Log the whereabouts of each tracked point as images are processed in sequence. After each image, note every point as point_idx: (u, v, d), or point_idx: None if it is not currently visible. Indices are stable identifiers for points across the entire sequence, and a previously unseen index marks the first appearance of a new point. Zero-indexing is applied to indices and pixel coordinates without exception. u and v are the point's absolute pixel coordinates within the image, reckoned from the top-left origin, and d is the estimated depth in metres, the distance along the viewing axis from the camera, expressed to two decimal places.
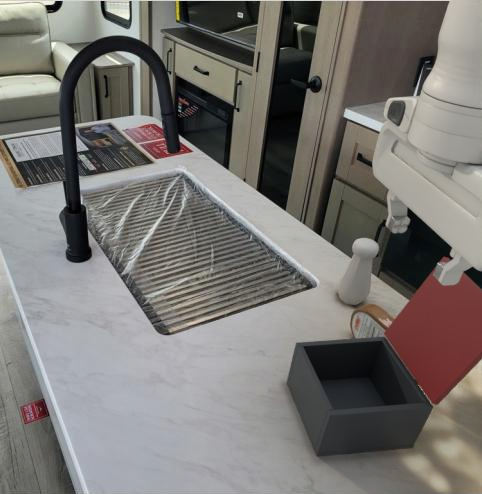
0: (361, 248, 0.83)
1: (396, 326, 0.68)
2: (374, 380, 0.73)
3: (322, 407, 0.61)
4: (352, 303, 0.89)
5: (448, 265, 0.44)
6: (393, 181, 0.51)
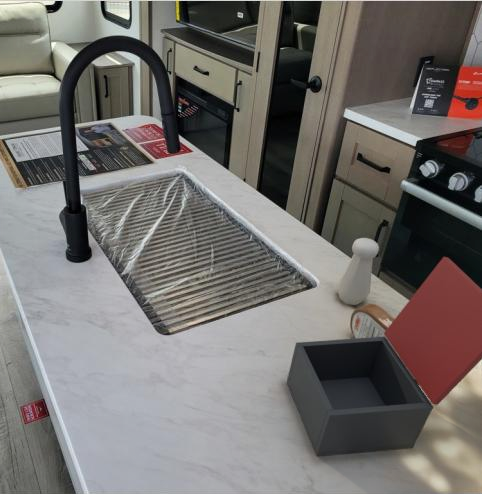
0: (361, 248, 0.83)
1: (396, 326, 0.68)
2: (374, 380, 0.73)
3: (322, 407, 0.61)
4: (352, 303, 0.89)
5: None
6: None
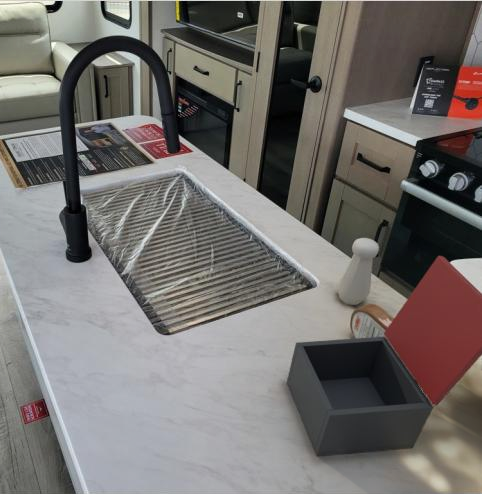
0: (361, 248, 0.83)
1: (395, 326, 0.68)
2: (374, 380, 0.73)
3: (322, 407, 0.61)
4: (352, 303, 0.89)
5: None
6: (476, 280, 0.64)
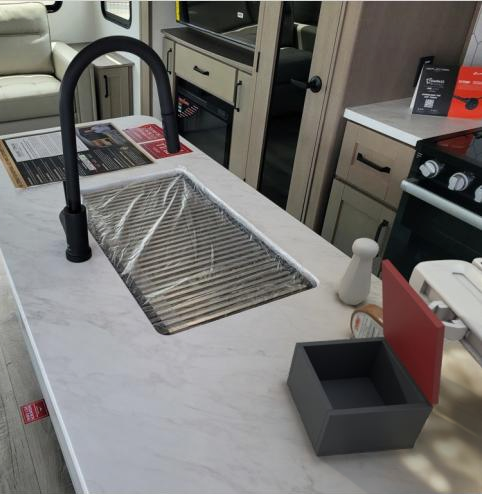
0: (361, 248, 0.83)
1: (386, 328, 0.68)
2: (374, 380, 0.73)
3: (322, 407, 0.61)
4: (352, 303, 0.89)
5: (444, 323, 0.58)
6: (443, 283, 0.63)
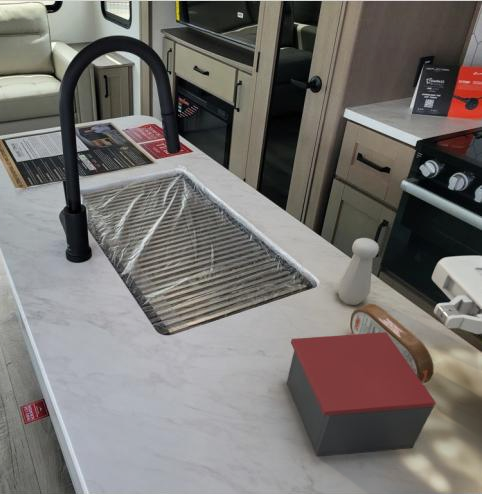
0: (361, 248, 0.83)
1: None
2: None
3: None
4: (352, 303, 0.89)
5: (469, 316, 0.59)
6: (466, 278, 0.64)
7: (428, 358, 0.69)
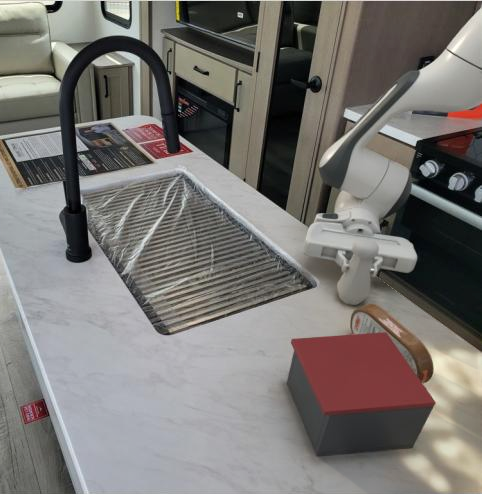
0: (361, 248, 0.83)
1: None
2: None
3: None
4: (352, 303, 0.89)
5: (376, 262, 0.87)
6: (332, 241, 0.92)
7: (428, 358, 0.69)
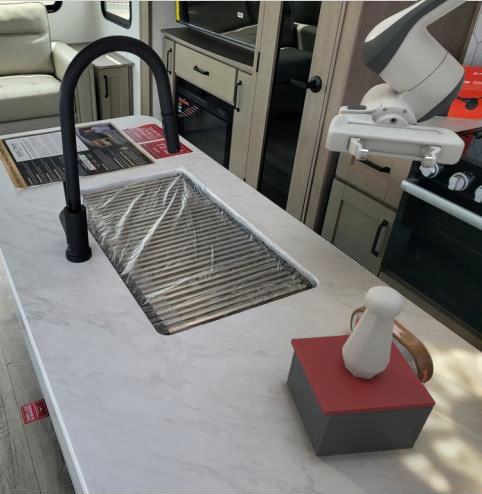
0: (379, 304, 0.56)
1: None
2: None
3: None
4: (364, 376, 0.63)
5: (434, 151, 0.72)
6: (361, 130, 0.77)
7: (428, 358, 0.69)
